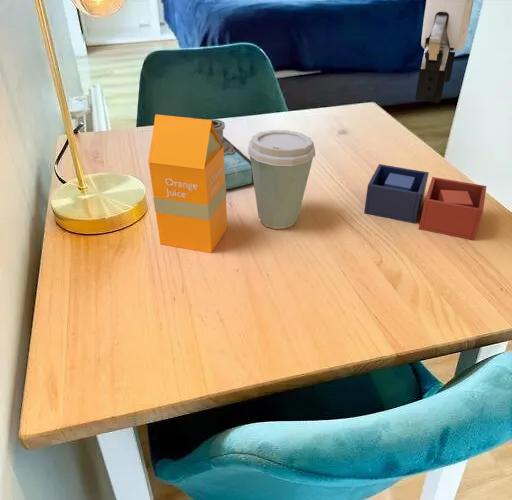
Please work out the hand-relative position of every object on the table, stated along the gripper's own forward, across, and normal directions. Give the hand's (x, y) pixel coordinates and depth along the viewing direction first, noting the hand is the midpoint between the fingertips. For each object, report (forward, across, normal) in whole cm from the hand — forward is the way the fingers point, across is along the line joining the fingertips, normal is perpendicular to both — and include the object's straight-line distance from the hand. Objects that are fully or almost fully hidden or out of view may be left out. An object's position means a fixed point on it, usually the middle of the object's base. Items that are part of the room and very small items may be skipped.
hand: (433, 90), depth 69 cm
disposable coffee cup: (+23, -4, +21) cm, 31 cm away
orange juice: (+23, -14, +32) cm, 42 cm away
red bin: (+23, +7, -6) cm, 25 cm away
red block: (+23, +7, -6) cm, 25 cm away
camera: (+23, +8, +39) cm, 46 cm away
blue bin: (+23, +8, +4) cm, 25 cm away
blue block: (+23, +9, +4) cm, 25 cm away
